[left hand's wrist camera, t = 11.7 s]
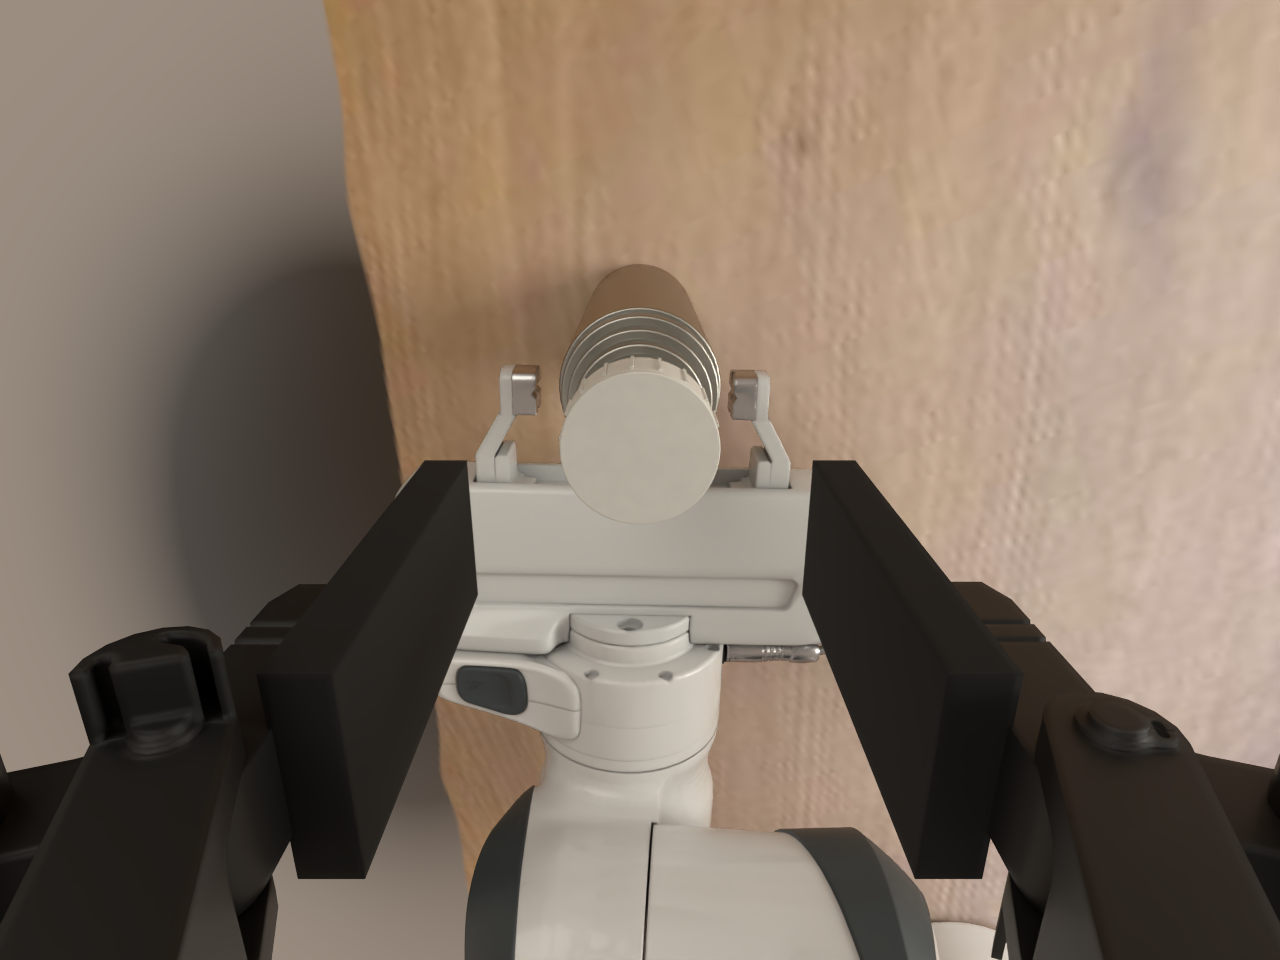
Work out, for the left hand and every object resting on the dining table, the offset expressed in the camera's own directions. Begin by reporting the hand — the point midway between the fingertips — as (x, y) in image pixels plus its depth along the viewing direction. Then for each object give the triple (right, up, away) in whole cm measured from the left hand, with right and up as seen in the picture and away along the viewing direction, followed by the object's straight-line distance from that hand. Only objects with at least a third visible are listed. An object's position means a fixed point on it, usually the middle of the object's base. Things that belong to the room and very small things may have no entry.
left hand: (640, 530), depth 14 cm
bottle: (0, +9, +23) cm, 25 cm away
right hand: (0, +5, +18) cm, 18 cm away
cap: (0, +2, +5) cm, 5 cm away
